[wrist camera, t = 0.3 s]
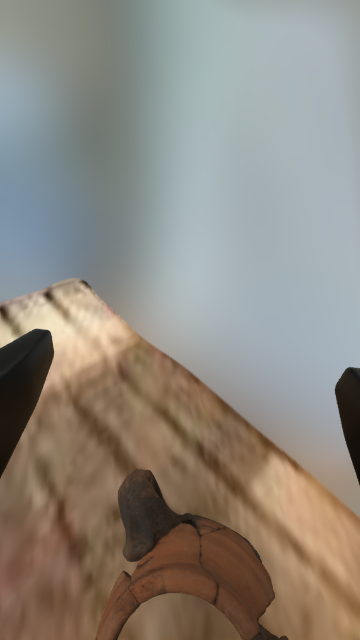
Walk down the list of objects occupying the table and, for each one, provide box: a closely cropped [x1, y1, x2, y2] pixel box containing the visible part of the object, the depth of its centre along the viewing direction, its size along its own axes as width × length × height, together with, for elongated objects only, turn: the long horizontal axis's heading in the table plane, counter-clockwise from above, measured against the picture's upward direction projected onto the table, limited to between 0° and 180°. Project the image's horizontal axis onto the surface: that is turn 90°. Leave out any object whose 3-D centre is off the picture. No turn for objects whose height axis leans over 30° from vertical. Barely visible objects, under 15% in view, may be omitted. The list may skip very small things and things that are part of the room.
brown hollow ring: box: [95, 469, 288, 640], centre depth 16 cm, size 12×10×8 cm
